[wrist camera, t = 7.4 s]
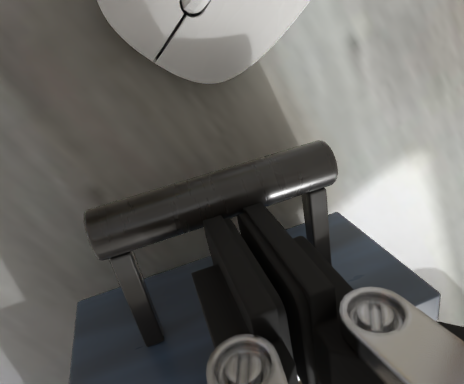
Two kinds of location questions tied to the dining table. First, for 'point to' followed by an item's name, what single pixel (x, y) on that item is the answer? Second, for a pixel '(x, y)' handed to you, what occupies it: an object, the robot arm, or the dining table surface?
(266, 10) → the computer mouse
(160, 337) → the drawer
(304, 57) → the dining table surface
